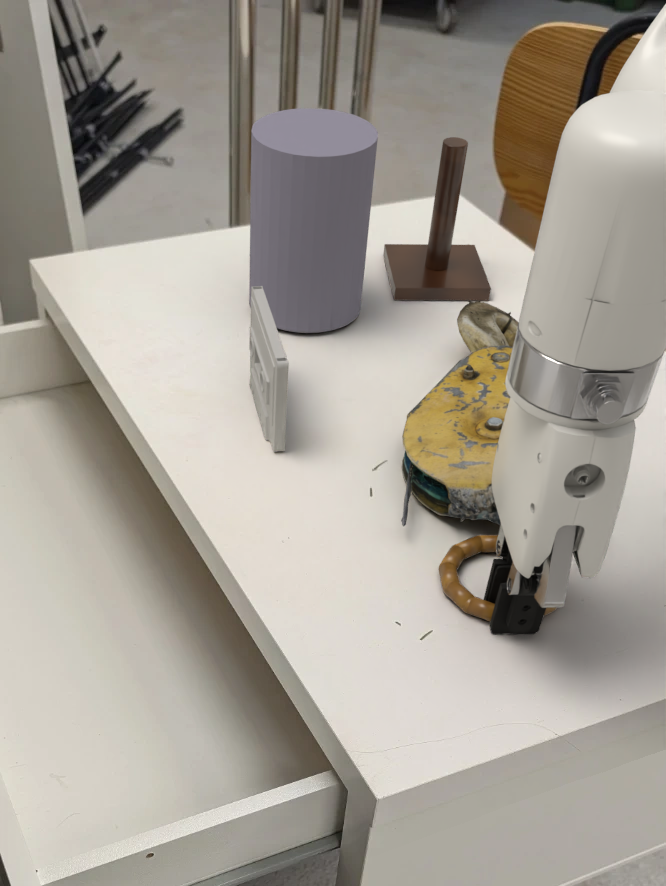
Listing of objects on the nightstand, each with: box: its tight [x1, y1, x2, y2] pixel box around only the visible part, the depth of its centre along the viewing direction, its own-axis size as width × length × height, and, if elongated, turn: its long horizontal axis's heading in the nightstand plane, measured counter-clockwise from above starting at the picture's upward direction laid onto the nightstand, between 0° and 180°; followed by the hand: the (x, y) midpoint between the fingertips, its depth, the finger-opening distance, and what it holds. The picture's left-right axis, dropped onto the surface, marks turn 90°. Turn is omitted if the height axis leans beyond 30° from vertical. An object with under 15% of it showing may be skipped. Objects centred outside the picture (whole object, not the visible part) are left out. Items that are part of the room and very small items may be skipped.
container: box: [248, 107, 379, 334], centre depth 89 cm, size 10×10×15 cm
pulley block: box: [401, 299, 519, 527], centre depth 80 cm, size 14×6×30 cm
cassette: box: [248, 286, 290, 453], centre depth 80 cm, size 12×2×8 cm, turn 9°
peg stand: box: [382, 136, 492, 301], centre depth 94 cm, size 9×9×12 cm
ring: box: [438, 534, 557, 622], centre depth 70 cm, size 8×8×1 cm
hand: (510, 617), depth 68 cm, fingers closed on ring, 1 cm apart
